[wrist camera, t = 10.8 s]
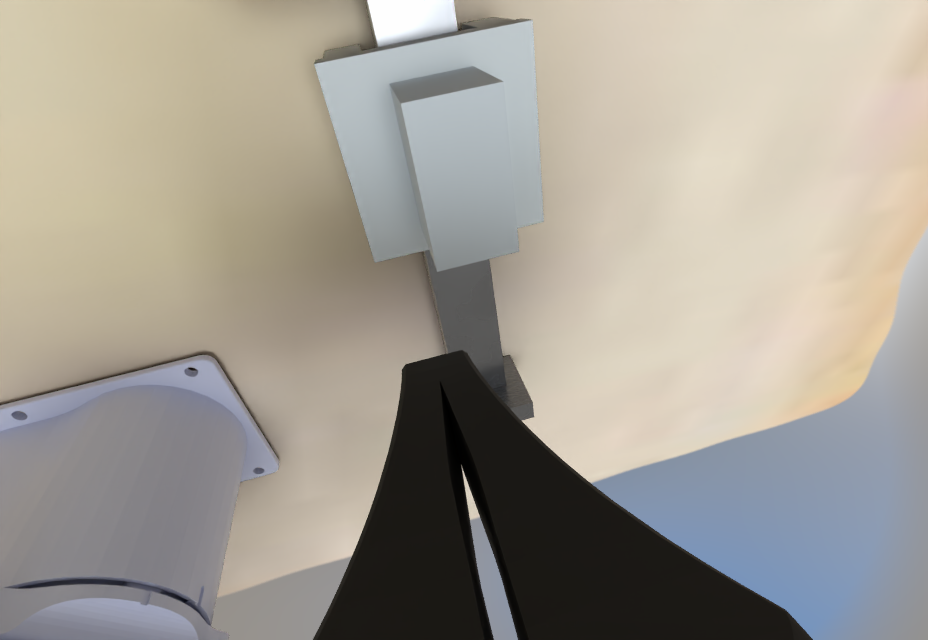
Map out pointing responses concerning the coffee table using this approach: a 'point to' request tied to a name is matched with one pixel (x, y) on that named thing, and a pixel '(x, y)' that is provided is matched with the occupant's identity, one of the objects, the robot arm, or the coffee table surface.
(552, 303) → the coffee table surface
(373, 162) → the carriage
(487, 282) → the rail
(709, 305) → the coffee table surface
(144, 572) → the robot arm
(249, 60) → the coffee table surface
